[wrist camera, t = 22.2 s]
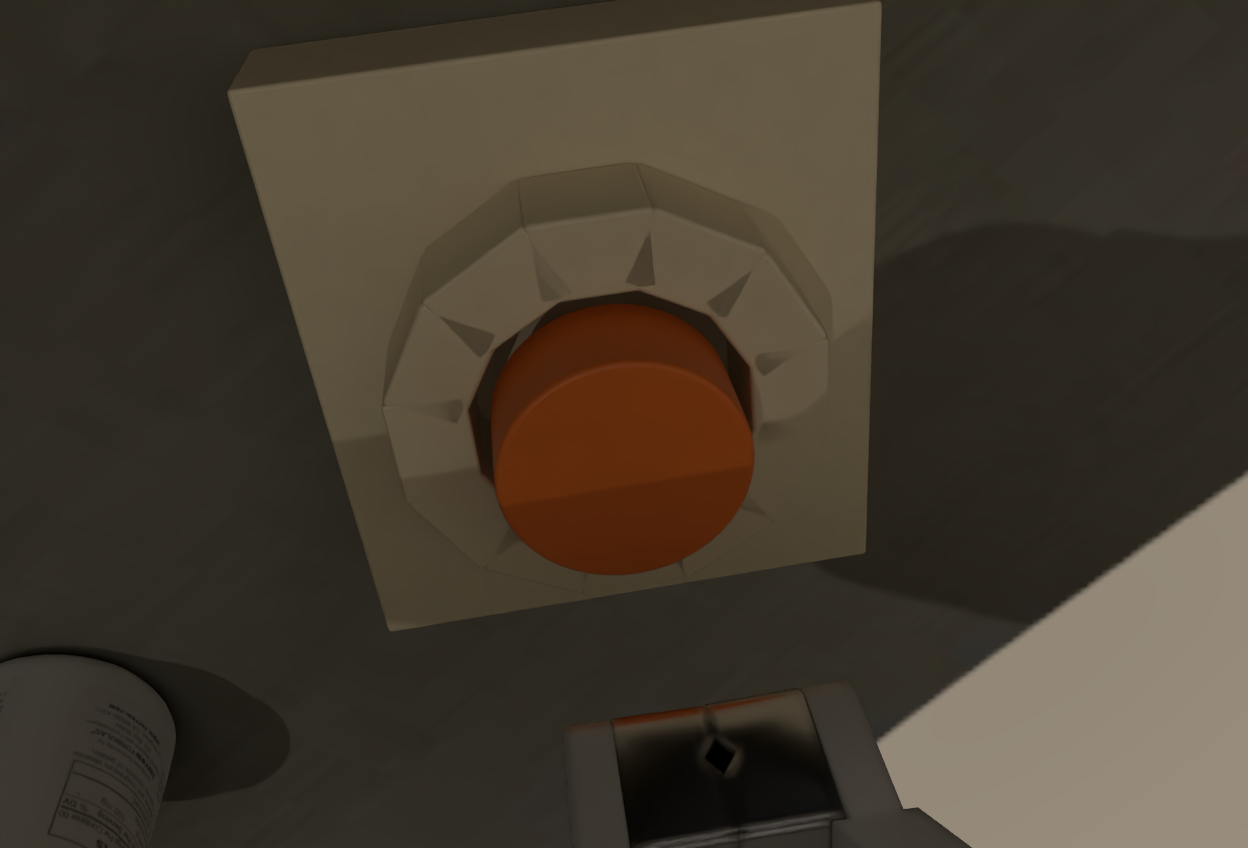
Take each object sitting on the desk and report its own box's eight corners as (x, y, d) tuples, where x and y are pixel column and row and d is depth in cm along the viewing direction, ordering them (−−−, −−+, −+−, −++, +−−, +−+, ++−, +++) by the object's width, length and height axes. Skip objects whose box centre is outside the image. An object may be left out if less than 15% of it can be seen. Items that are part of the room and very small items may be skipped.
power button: (734, 486, 18) (760, 556, 16) (511, 522, 17) (516, 596, 16) (722, 283, 16) (751, 342, 14) (470, 321, 15) (472, 385, 14)
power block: (832, 485, 22) (899, 620, 19) (393, 557, 22) (383, 707, 19) (837, -31, 17) (931, 32, 14) (249, 48, 16) (199, 134, 13)
